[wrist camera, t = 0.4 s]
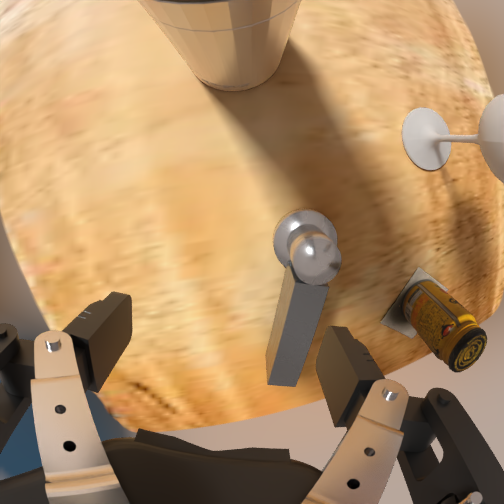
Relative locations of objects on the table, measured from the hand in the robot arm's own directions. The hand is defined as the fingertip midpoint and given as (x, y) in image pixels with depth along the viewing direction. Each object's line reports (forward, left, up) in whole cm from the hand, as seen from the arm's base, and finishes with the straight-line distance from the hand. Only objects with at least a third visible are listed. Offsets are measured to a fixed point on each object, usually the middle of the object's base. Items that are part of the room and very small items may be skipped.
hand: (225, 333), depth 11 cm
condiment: (+7, +24, -19) cm, 31 cm away
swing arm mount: (+1, +7, -18) cm, 19 cm away
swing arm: (+7, +7, -17) cm, 19 cm away
